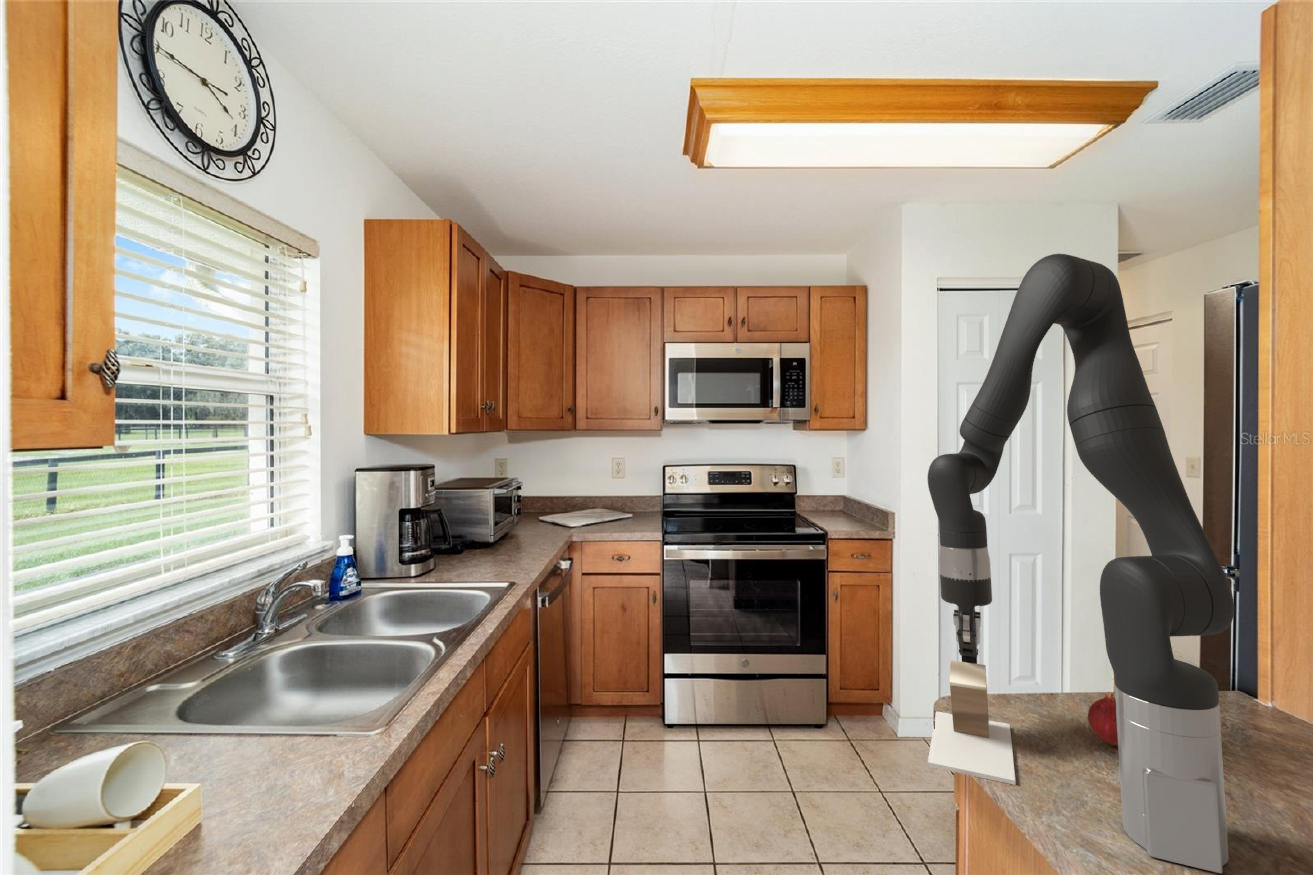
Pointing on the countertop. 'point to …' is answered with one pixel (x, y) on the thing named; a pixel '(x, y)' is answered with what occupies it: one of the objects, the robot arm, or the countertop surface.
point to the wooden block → (969, 698)
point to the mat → (972, 750)
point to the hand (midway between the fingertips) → (970, 677)
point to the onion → (1104, 719)
